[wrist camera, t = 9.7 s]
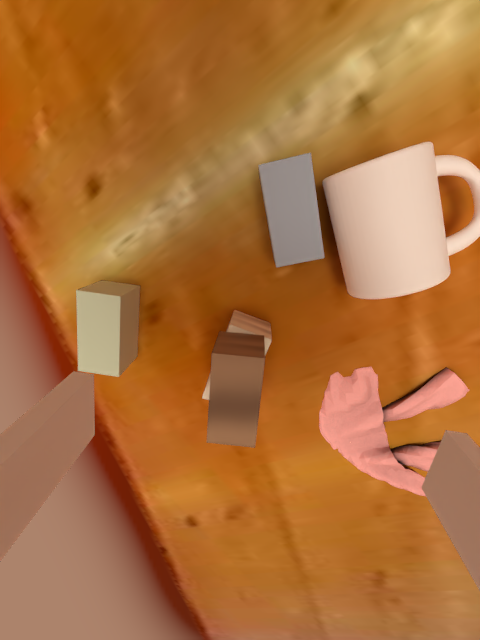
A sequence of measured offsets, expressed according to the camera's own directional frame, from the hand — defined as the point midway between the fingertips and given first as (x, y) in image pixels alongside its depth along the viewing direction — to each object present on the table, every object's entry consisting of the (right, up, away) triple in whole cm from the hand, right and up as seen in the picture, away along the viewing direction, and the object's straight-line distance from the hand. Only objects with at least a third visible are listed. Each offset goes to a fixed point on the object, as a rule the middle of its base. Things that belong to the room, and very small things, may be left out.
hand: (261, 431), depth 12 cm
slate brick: (+4, +14, +18) cm, 23 cm away
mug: (+13, +14, +18) cm, 26 cm away
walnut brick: (-1, -1, +18) cm, 18 cm away
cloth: (+19, -8, +25) cm, 32 cm away
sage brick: (-14, +4, +22) cm, 27 cm away
